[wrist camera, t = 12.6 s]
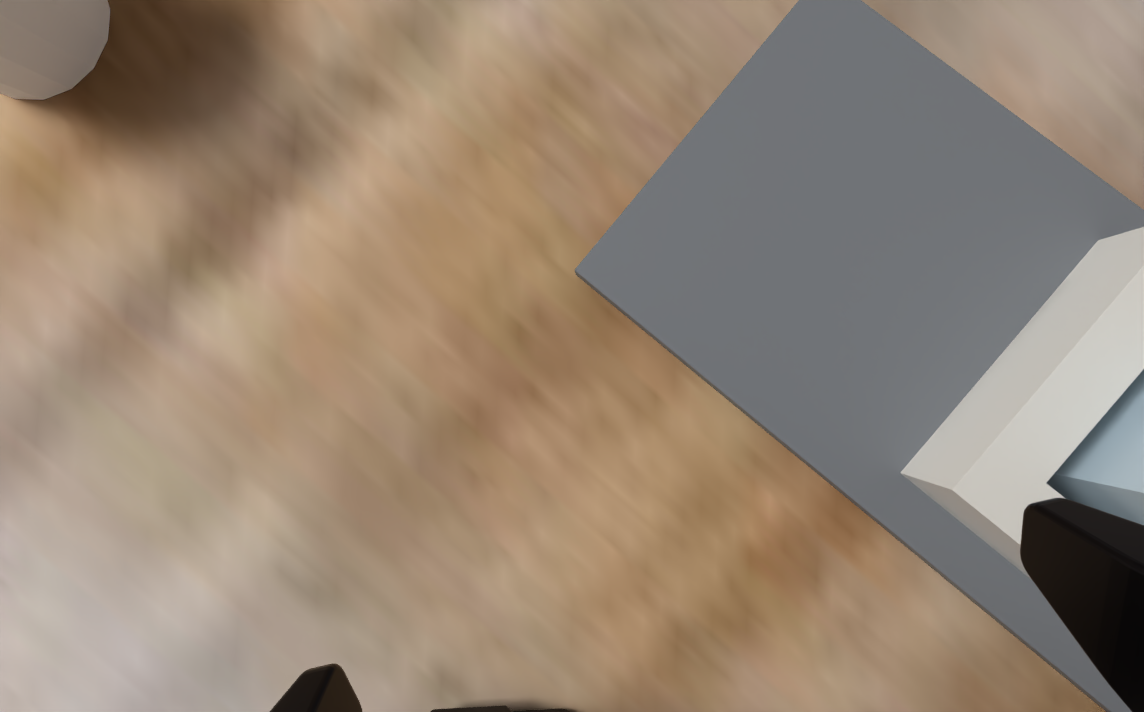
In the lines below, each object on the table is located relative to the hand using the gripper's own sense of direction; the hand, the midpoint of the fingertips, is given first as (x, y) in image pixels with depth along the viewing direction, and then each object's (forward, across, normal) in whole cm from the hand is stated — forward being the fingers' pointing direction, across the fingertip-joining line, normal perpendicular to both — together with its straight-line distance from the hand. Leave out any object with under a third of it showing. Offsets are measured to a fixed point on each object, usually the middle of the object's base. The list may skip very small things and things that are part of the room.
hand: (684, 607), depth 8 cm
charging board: (+11, -11, +4) cm, 16 cm away
